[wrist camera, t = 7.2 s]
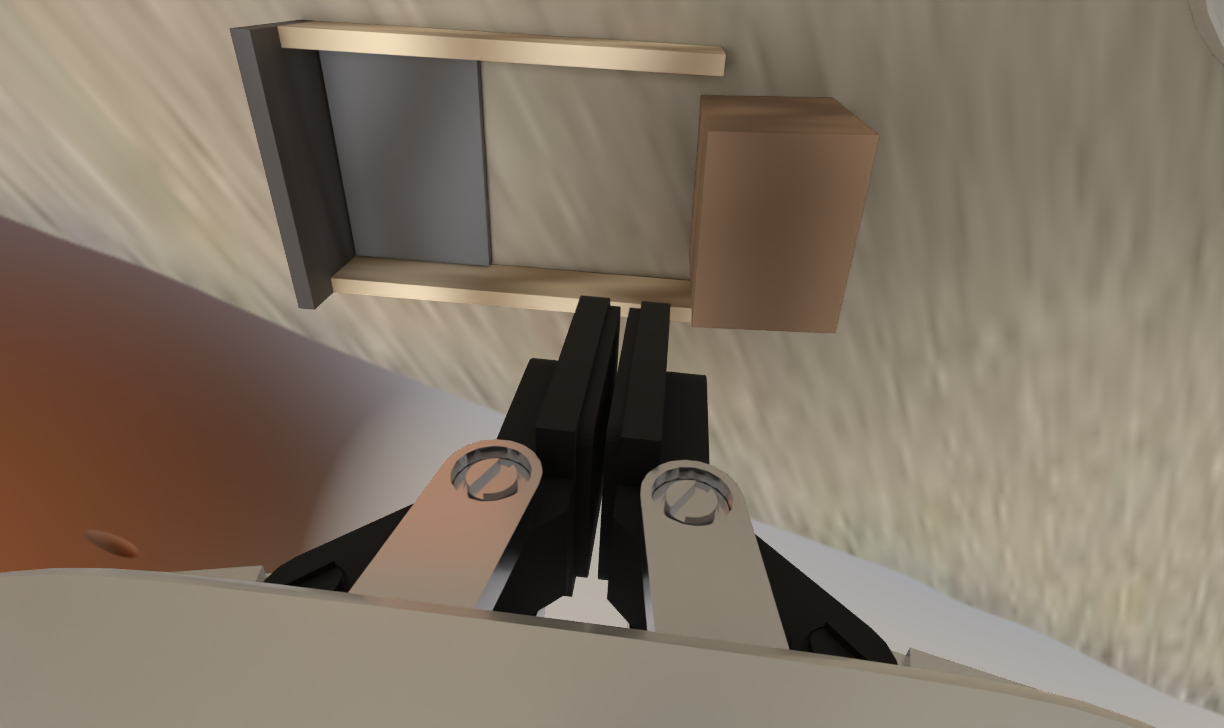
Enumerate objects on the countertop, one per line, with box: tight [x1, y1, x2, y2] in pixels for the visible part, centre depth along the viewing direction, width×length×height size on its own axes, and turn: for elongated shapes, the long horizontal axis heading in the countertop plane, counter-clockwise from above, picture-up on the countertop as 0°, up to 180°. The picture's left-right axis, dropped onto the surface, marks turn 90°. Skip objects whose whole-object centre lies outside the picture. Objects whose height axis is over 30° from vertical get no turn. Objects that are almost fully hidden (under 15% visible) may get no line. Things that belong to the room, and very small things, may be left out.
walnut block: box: [689, 95, 880, 333], centre depth 21 cm, size 4×6×6 cm
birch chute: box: [230, 20, 726, 323], centre depth 22 cm, size 15×9×4 cm, turn 87°
